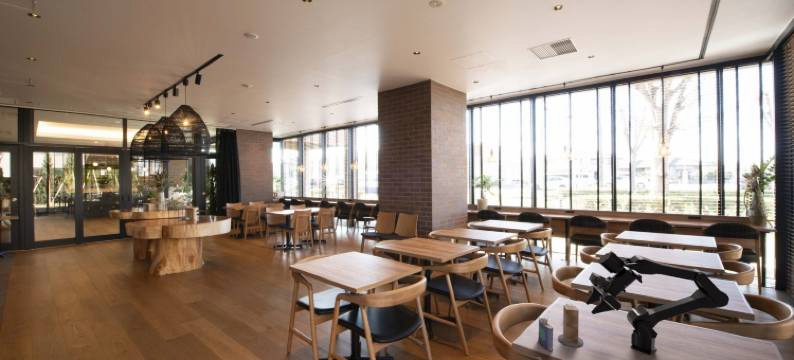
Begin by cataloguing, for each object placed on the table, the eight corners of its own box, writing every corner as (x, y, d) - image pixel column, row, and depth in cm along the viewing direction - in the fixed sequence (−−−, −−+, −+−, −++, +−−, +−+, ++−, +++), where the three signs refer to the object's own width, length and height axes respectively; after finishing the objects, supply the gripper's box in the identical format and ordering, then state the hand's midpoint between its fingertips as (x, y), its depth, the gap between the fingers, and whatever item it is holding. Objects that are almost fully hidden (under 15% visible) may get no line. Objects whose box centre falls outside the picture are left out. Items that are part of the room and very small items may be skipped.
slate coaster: (587, 342, 138) (587, 340, 138) (575, 349, 133) (575, 347, 133) (565, 333, 145) (565, 331, 145) (553, 339, 140) (553, 338, 140)
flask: (554, 351, 132) (554, 323, 131) (546, 351, 132) (546, 323, 131) (543, 339, 141) (543, 313, 140) (536, 339, 141) (536, 313, 140)
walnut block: (575, 337, 141) (575, 305, 140) (578, 343, 136) (578, 310, 136) (563, 336, 142) (563, 304, 141) (565, 341, 137) (566, 309, 137)
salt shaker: (574, 317, 160) (574, 304, 160) (570, 319, 158) (570, 306, 158) (567, 315, 162) (567, 302, 162) (563, 317, 161) (564, 304, 160)
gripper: (596, 260, 145) (568, 285, 148) (609, 273, 127) (577, 302, 130) (618, 279, 143) (589, 305, 146) (635, 296, 125) (602, 324, 128)
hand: (589, 308), depth 138 cm, fingers open, 9 cm apart
